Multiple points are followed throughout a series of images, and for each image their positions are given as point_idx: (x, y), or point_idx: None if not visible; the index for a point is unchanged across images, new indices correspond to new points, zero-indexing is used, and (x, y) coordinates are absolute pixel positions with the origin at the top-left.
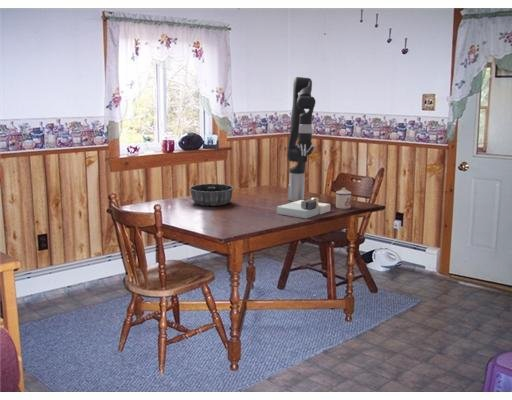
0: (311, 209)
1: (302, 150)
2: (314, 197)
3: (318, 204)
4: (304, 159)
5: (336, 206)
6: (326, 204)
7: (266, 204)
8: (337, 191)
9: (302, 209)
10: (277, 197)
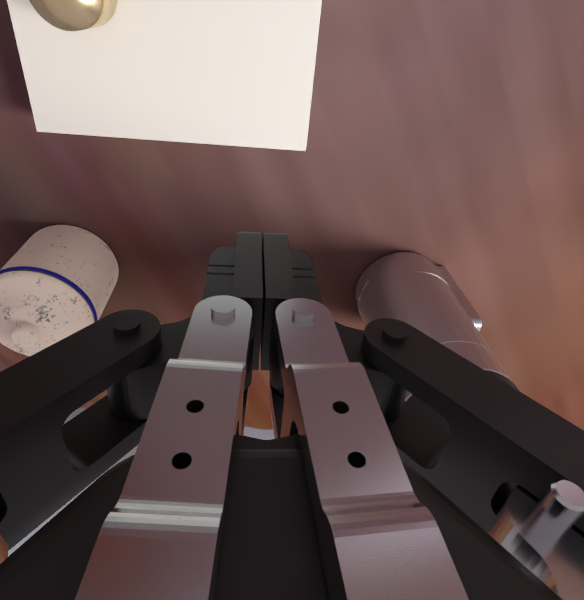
0: None
1: (303, 384)
2: (86, 17)
3: (93, 58)
4: (239, 254)
5: (92, 236)
6: (47, 98)
7: (544, 66)
8: (72, 306)
9: None
10: (520, 297)
